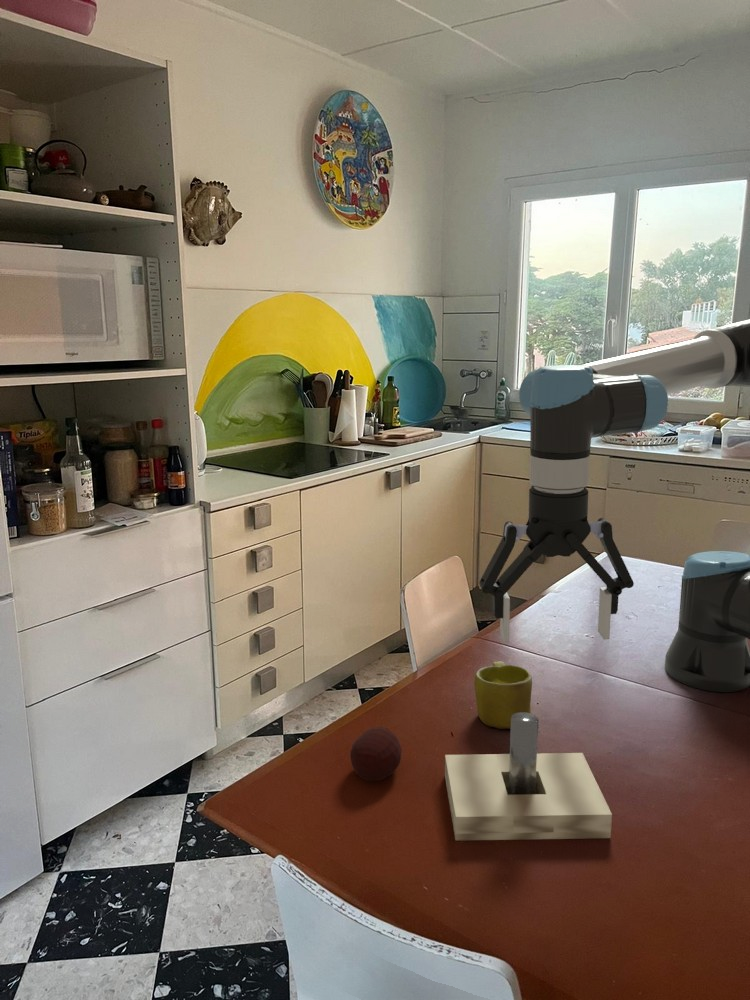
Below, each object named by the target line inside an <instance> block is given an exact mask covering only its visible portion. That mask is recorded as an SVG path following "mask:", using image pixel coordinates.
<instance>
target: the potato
mask: <svg viewBox="0 0 750 1000" xmlns="http://www.w3.org/2000/svg"><path fill="white" fill-rule="evenodd" d="M401 759H402V747H401V743H400V741H399V739H398V736H397V735H396V734H395V733H394V732H393V731H391V730H390V729H389V728H386V727H383V726H375V727H371V728H369V729H367V730H365V731H364V732H363V733H362V734H361V735H360V736H359V737H357V738H355V740H354V742H353V743H352V746H351V749H350V762H351V765H352V768H353V770H354V772H355V773H356V775H357V776H358V777H360V778H361V779H363V780H364V781H367V782H376V781H381V780H384V779H386V778H388V777H390V776H391V775H392V774H394V772H395V771H396V769H398V767H399V765H400V763H401Z"/></svg>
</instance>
